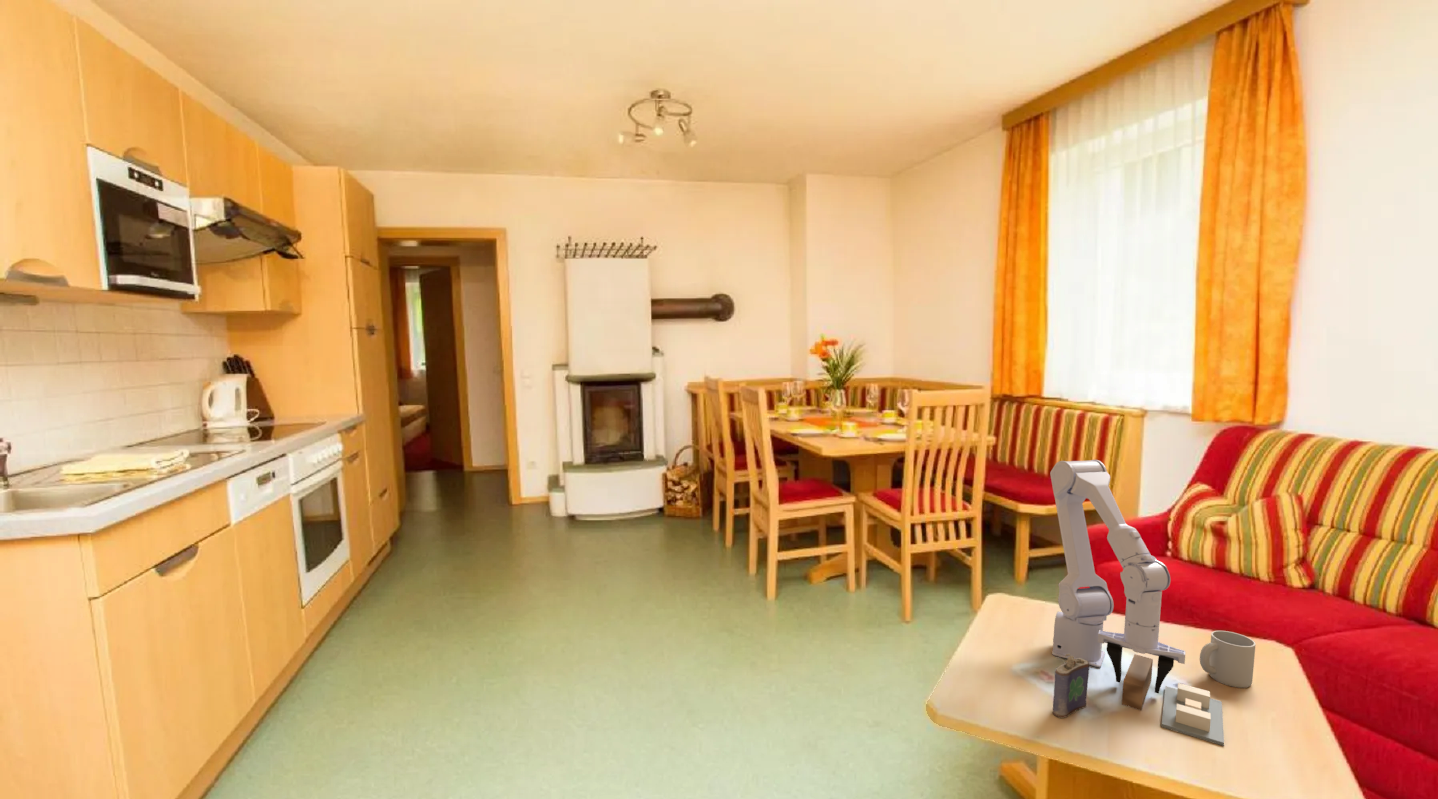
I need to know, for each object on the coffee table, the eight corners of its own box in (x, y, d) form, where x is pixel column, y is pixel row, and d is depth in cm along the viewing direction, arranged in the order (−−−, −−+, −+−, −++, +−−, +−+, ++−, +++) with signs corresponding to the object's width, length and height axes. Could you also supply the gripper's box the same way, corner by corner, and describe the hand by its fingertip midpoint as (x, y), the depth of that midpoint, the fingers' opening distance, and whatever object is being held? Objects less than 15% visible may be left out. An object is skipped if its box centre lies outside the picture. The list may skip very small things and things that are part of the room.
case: (1121, 705, 124) (1123, 681, 123) (1133, 676, 134) (1134, 654, 134) (1141, 711, 121) (1142, 686, 121) (1151, 681, 132) (1152, 659, 132)
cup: (1261, 688, 129) (1265, 647, 128) (1212, 688, 129) (1215, 646, 128) (1233, 670, 136) (1236, 630, 135) (1186, 670, 136) (1189, 630, 136)
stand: (1161, 726, 116) (1162, 711, 116) (1165, 688, 129) (1166, 674, 129) (1223, 746, 111) (1225, 729, 111) (1221, 704, 124) (1222, 689, 123)
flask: (1062, 720, 118) (1065, 665, 117) (1047, 712, 121) (1050, 658, 120) (1089, 705, 123) (1093, 653, 122) (1074, 698, 125) (1077, 646, 125)
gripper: (1097, 618, 127) (1093, 682, 129) (1186, 638, 119) (1181, 707, 120) (1101, 606, 133) (1097, 667, 134) (1187, 625, 124) (1182, 690, 126)
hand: (1137, 685), depth 128 cm, fingers open, 6 cm apart
